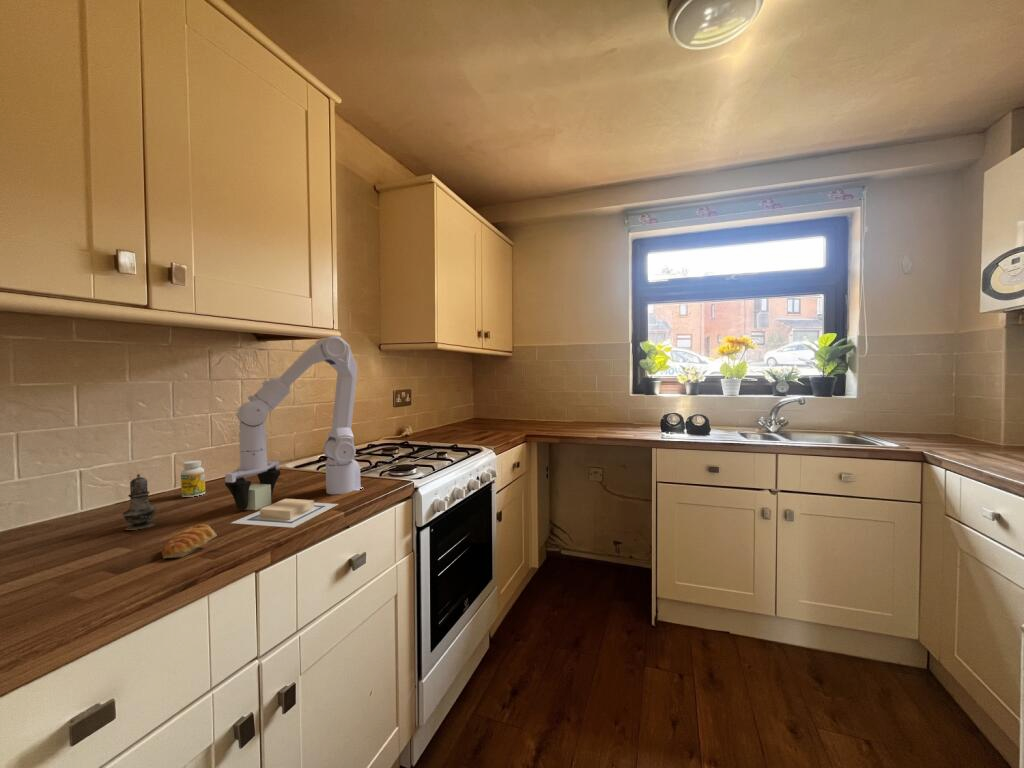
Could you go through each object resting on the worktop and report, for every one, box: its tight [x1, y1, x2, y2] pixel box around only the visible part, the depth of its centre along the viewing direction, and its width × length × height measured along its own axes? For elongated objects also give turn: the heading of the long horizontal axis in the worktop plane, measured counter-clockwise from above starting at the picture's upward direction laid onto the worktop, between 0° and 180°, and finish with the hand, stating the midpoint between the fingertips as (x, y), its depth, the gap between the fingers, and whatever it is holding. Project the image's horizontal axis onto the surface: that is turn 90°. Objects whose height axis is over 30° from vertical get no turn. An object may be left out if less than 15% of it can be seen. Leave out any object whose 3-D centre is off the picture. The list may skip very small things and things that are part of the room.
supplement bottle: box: [180, 460, 206, 498], centre depth 117 cm, size 5×5×10 cm
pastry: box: [161, 523, 218, 559], centre depth 80 cm, size 9×7×4 cm
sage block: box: [243, 483, 272, 511], centre depth 103 cm, size 5×5×6 cm
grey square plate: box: [230, 502, 339, 529], centre depth 98 cm, size 16×16×1 cm
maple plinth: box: [259, 498, 315, 520], centre depth 98 cm, size 8×8×2 cm
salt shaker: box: [121, 473, 158, 530], centre depth 93 cm, size 6×6×12 cm
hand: (254, 503), depth 103 cm, fingers open, 7 cm apart
